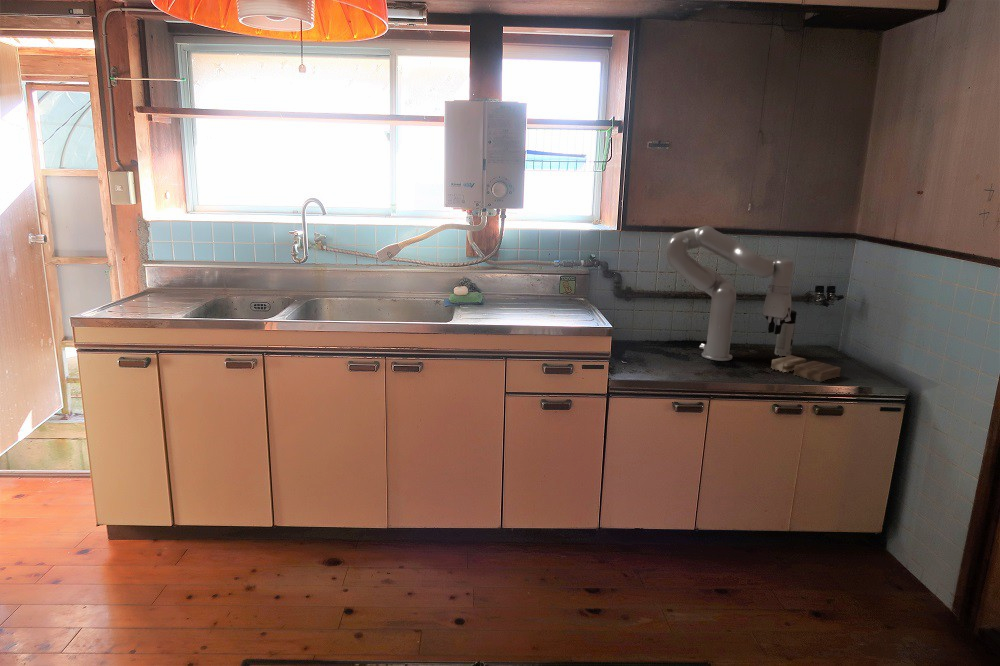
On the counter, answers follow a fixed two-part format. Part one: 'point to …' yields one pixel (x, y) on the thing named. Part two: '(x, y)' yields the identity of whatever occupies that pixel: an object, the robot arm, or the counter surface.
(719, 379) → the counter surface
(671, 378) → the counter surface
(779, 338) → the spray can
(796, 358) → the maple plank
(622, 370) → the counter surface
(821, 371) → the brown grooved flat slab
